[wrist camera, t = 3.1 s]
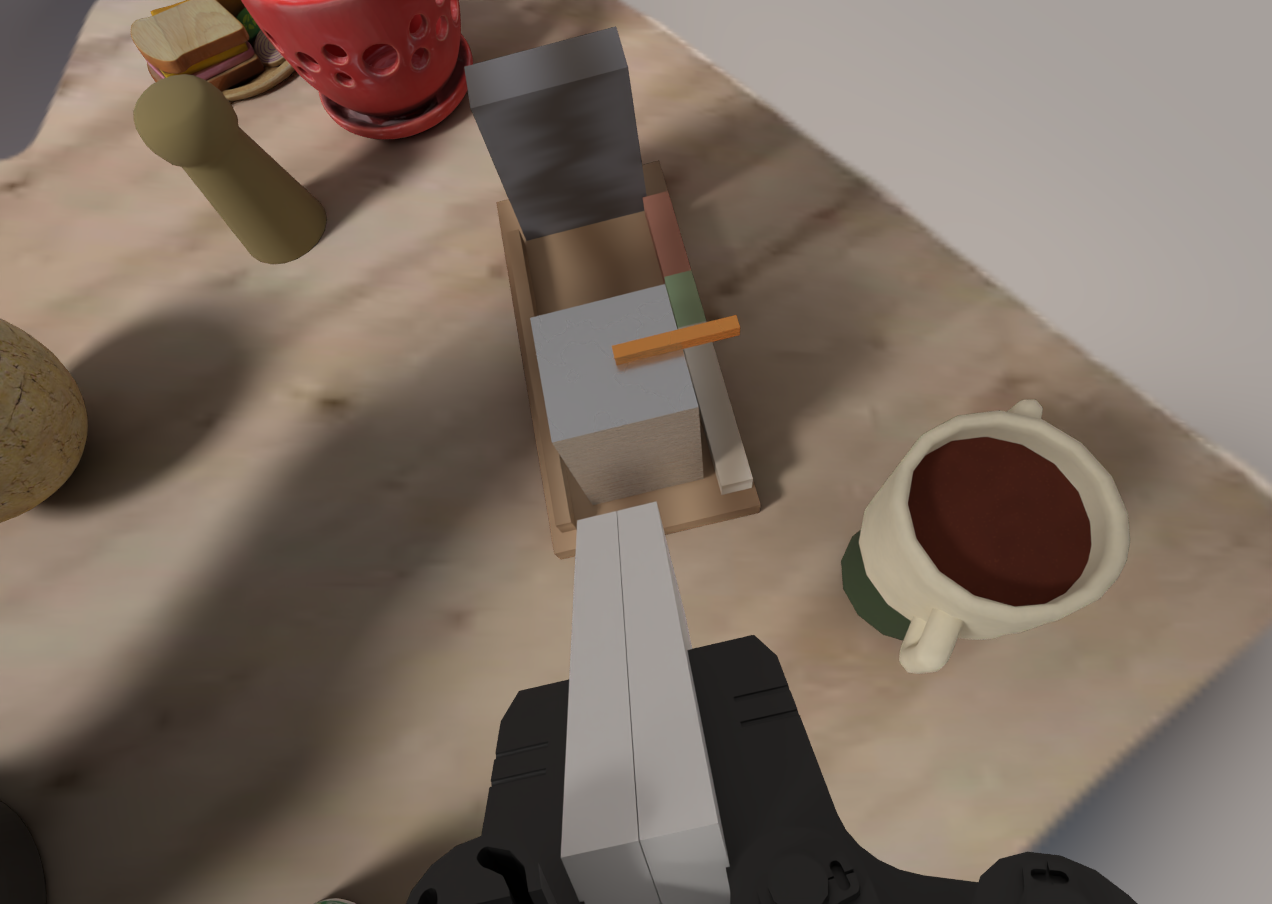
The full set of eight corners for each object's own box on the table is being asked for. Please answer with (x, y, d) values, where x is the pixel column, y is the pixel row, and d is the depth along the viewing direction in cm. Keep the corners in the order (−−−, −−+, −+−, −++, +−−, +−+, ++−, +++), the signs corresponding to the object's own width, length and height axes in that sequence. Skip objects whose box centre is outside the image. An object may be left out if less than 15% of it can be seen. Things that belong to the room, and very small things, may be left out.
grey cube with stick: (592, 505, 34) (548, 437, 25) (567, 374, 37) (519, 272, 28) (748, 467, 34) (758, 385, 25) (710, 339, 37) (707, 224, 28)
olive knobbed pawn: (337, 196, 47) (231, 56, 37) (310, 266, 45) (190, 138, 35) (263, 193, 48) (139, 56, 38) (233, 261, 46) (94, 136, 36)
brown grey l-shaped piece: (560, 559, 35) (492, 498, 25) (503, 218, 44) (434, 64, 34) (759, 512, 35) (776, 430, 24) (660, 177, 44) (641, 9, 33)
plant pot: (316, 170, 48) (194, 11, 37) (342, 43, 53) (240, -132, 42) (487, 151, 47) (414, -20, 36) (498, 23, 51) (437, -164, 40)
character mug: (933, 718, 31) (1074, 730, 18) (791, 643, 32) (835, 609, 20) (1010, 516, 33) (1176, 413, 21) (875, 459, 35) (957, 333, 23)
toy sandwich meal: (345, 56, 53) (311, -3, 48) (196, 142, 51) (147, 89, 47) (287, -20, 57) (251, -80, 53) (149, 58, 56) (99, 3, 51)
